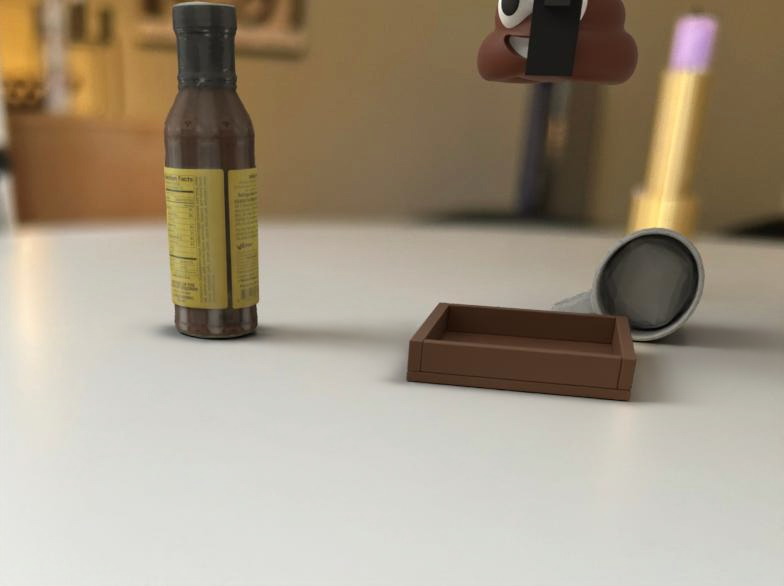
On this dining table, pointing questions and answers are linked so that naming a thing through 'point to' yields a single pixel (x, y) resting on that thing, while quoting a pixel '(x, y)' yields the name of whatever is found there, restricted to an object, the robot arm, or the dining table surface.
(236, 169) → the sauce bottle
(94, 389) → the dining table surface
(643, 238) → the ceramic mug
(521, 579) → the dining table surface
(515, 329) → the walnut tray
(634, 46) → the poop emoji
